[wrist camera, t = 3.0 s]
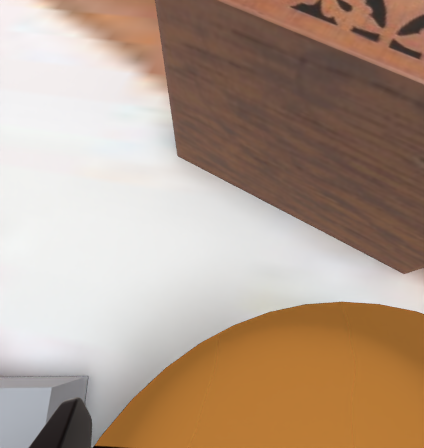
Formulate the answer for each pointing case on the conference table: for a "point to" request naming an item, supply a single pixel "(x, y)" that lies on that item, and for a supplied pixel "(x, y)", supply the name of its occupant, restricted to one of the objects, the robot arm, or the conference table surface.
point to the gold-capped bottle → (289, 385)
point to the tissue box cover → (308, 110)
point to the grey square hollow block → (33, 405)
